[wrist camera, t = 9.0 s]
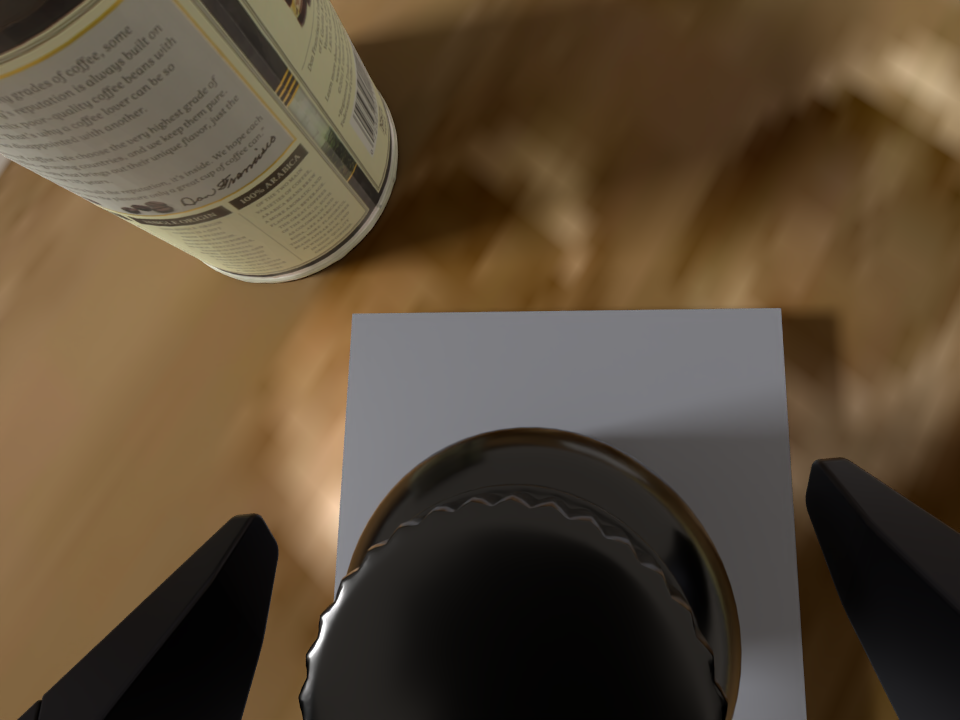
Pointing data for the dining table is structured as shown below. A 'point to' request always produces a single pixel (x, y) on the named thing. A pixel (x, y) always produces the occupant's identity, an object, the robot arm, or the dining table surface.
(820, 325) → the dining table surface
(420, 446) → the book
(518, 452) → the supplement bottle
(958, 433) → the dining table surface
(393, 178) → the coffee can
